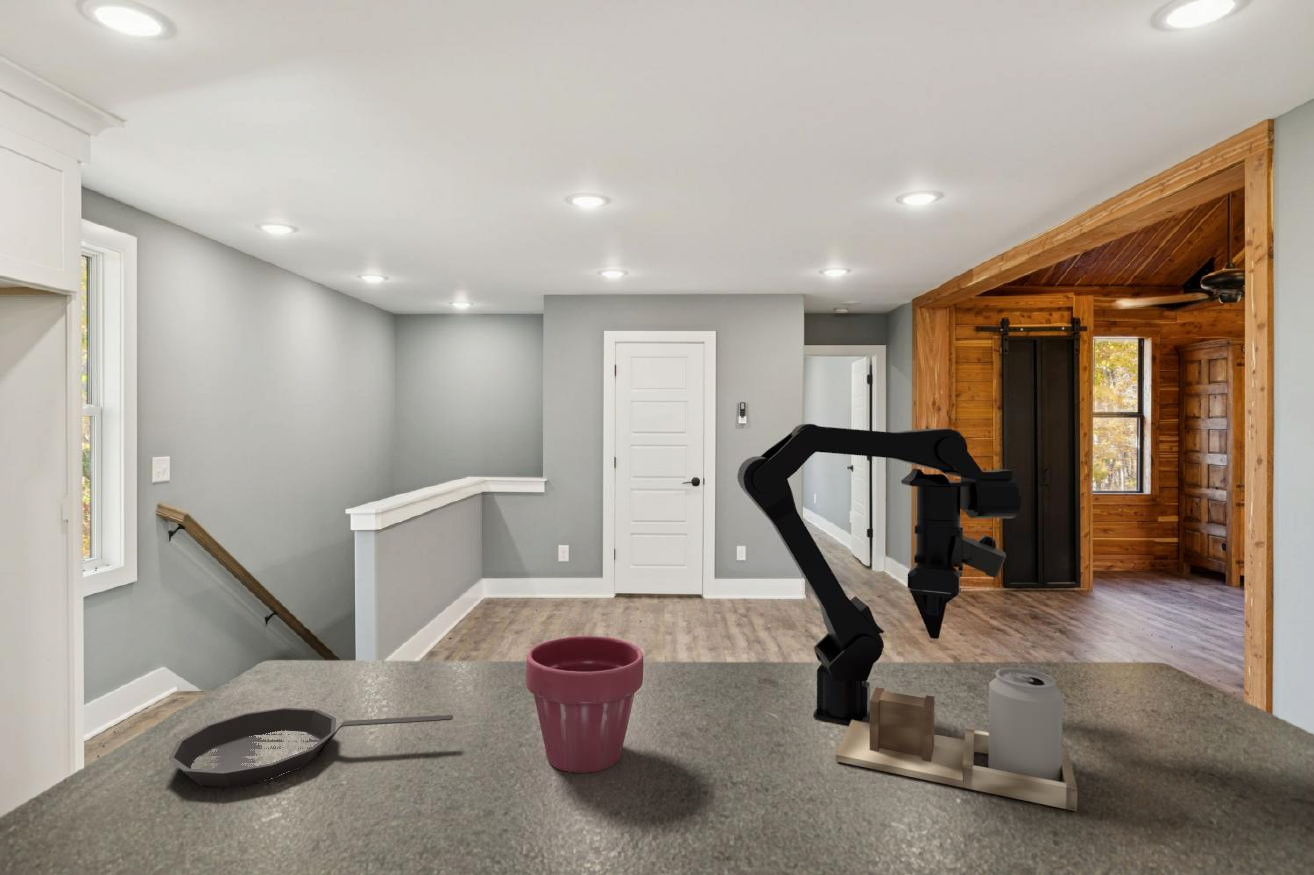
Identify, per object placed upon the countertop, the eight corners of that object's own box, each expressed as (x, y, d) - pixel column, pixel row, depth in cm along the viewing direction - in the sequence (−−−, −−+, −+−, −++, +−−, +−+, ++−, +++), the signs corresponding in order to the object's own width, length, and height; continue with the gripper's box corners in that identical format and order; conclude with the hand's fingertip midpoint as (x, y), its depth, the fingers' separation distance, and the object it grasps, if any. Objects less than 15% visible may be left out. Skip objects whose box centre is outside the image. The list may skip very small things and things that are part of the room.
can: (1069, 800, 76) (1071, 690, 76) (993, 789, 78) (995, 682, 78) (1051, 767, 83) (1053, 667, 83) (983, 758, 85) (984, 661, 85)
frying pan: (213, 730, 93) (213, 702, 92) (462, 716, 97) (462, 690, 97) (133, 803, 75) (132, 768, 75) (442, 781, 80) (442, 749, 80)
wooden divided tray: (835, 761, 84) (835, 704, 84) (851, 725, 94) (852, 675, 94) (1077, 811, 73) (1077, 746, 73) (1066, 765, 83) (1067, 708, 83)
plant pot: (661, 743, 89) (662, 643, 89) (608, 796, 76) (608, 679, 76) (566, 722, 95) (566, 629, 95) (501, 768, 82) (501, 660, 82)
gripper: (1003, 531, 86) (1001, 657, 86) (1001, 514, 103) (999, 619, 103) (907, 525, 91) (906, 645, 91) (920, 509, 107) (919, 610, 108)
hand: (936, 629), depth 98 cm, fingers open, 9 cm apart
